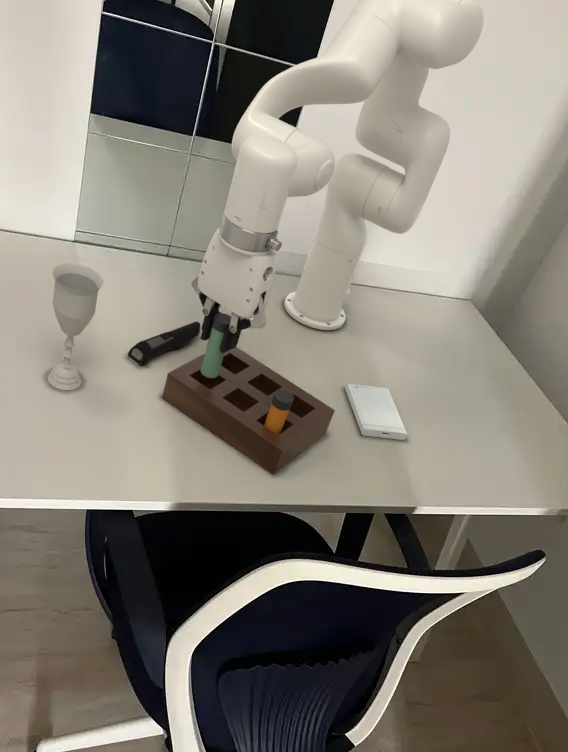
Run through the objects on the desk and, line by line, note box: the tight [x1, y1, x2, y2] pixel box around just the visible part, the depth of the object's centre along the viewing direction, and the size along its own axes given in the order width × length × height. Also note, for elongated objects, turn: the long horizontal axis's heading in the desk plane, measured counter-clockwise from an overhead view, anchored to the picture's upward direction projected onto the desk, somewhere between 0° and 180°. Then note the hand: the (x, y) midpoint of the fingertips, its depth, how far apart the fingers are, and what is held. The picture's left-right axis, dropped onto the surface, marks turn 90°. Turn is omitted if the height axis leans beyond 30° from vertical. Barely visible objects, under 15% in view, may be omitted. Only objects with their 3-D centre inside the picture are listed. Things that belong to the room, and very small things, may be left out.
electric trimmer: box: [127, 321, 201, 366], centre depth 134 cm, size 4×16×3 cm, turn 142°
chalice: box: [47, 262, 104, 391], centre depth 116 cm, size 7×7×18 cm
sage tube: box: [201, 312, 231, 378], centre depth 120 cm, size 3×3×10 cm
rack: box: [161, 346, 336, 475], centre depth 126 cm, size 16×22×5 cm
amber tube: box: [264, 390, 294, 435], centre depth 120 cm, size 3×3×10 cm
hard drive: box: [344, 383, 409, 441], centre depth 137 cm, size 2×8×12 cm
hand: (217, 342), depth 119 cm, fingers closed on sage tube, 3 cm apart
